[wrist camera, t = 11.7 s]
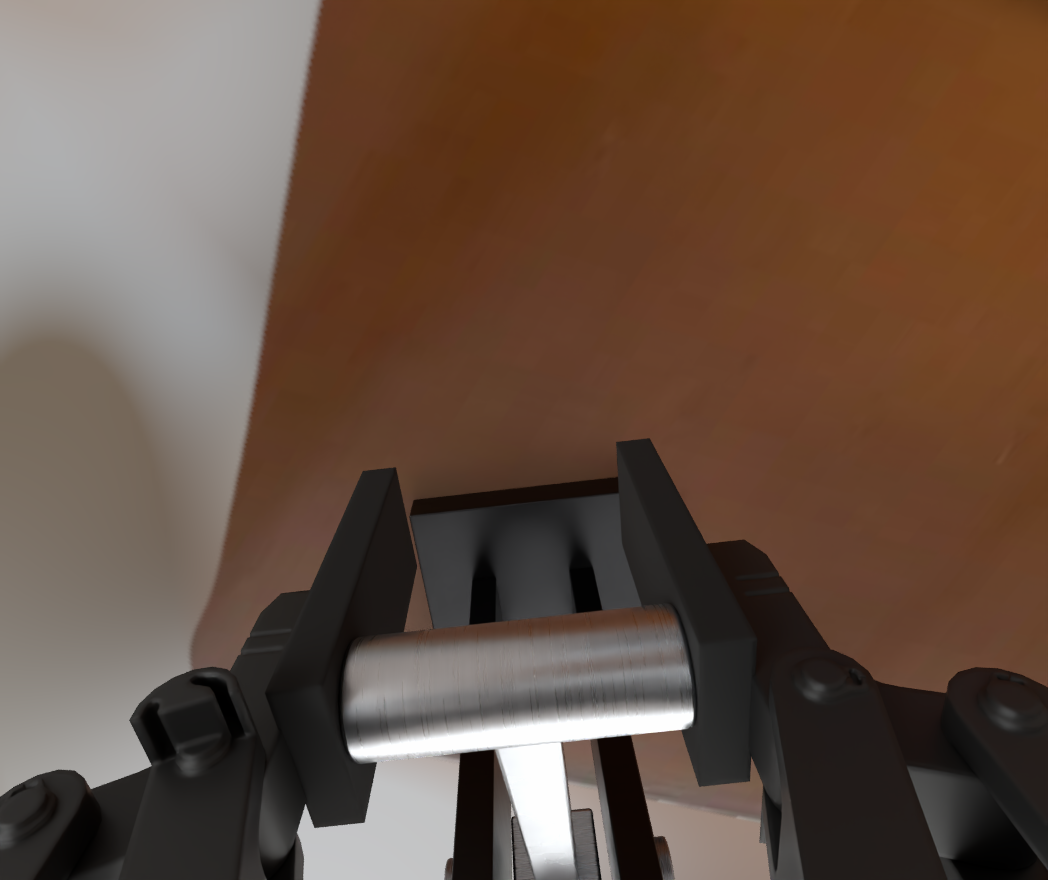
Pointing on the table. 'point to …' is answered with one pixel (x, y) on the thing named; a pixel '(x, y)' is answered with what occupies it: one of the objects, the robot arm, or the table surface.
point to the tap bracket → (521, 593)
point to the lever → (522, 708)
